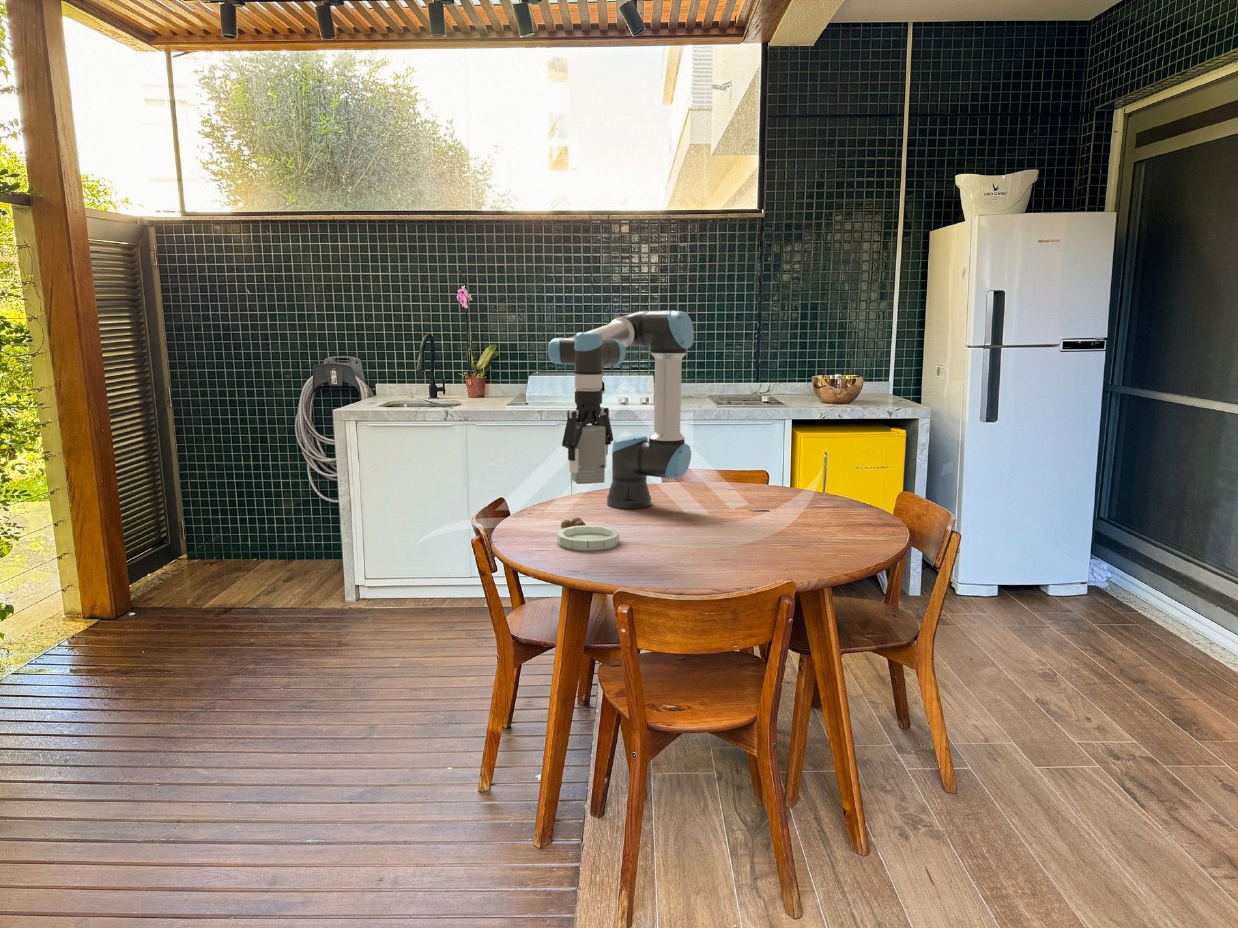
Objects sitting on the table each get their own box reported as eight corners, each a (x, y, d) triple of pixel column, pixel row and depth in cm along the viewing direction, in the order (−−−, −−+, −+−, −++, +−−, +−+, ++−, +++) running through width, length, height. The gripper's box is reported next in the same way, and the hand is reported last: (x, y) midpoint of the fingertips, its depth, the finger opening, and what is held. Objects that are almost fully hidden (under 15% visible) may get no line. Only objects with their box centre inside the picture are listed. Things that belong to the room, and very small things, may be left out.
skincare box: (576, 484, 227) (576, 427, 224) (570, 479, 234) (570, 423, 231) (606, 483, 229) (606, 426, 226) (600, 478, 236) (600, 423, 233)
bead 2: (577, 527, 252) (577, 515, 251) (585, 529, 249) (585, 517, 249) (568, 529, 249) (568, 517, 248) (576, 531, 247) (576, 519, 246)
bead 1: (567, 529, 249) (567, 517, 248) (575, 531, 246) (575, 519, 246) (558, 531, 246) (558, 519, 246) (566, 533, 244) (566, 521, 243)
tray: (588, 531, 246) (588, 522, 246) (630, 542, 235) (630, 532, 234) (545, 542, 234) (545, 532, 234) (587, 554, 223) (587, 544, 222)
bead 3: (580, 530, 248) (580, 518, 247) (588, 532, 245) (588, 520, 245) (571, 532, 245) (571, 520, 245) (579, 534, 243) (579, 522, 242)
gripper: (607, 386, 238) (607, 463, 242) (548, 391, 221) (548, 473, 225) (626, 388, 233) (626, 466, 236) (567, 393, 216) (567, 476, 220)
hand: (588, 469), depth 231 cm, fingers closed on skincare box, 10 cm apart
